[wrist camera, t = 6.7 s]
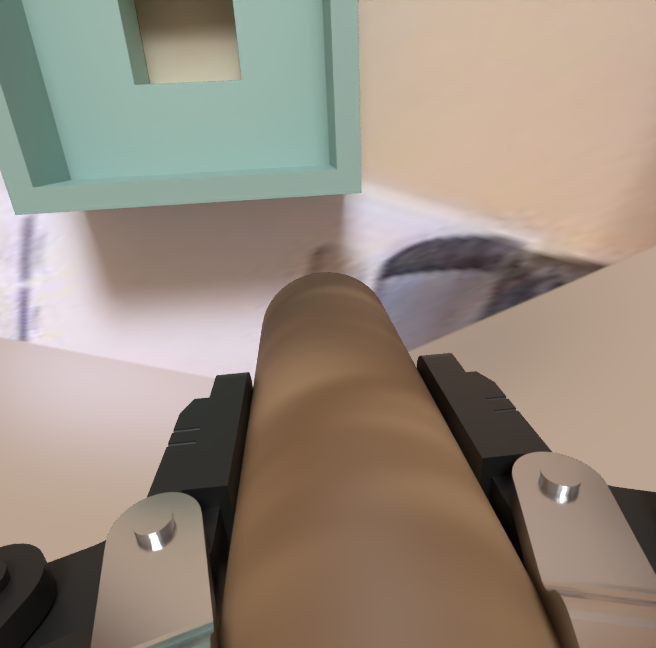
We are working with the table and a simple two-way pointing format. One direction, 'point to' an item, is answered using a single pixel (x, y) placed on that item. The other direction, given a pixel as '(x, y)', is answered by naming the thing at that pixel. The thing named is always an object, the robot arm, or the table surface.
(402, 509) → the walnut peg
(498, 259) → the table surface
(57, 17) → the bore box
